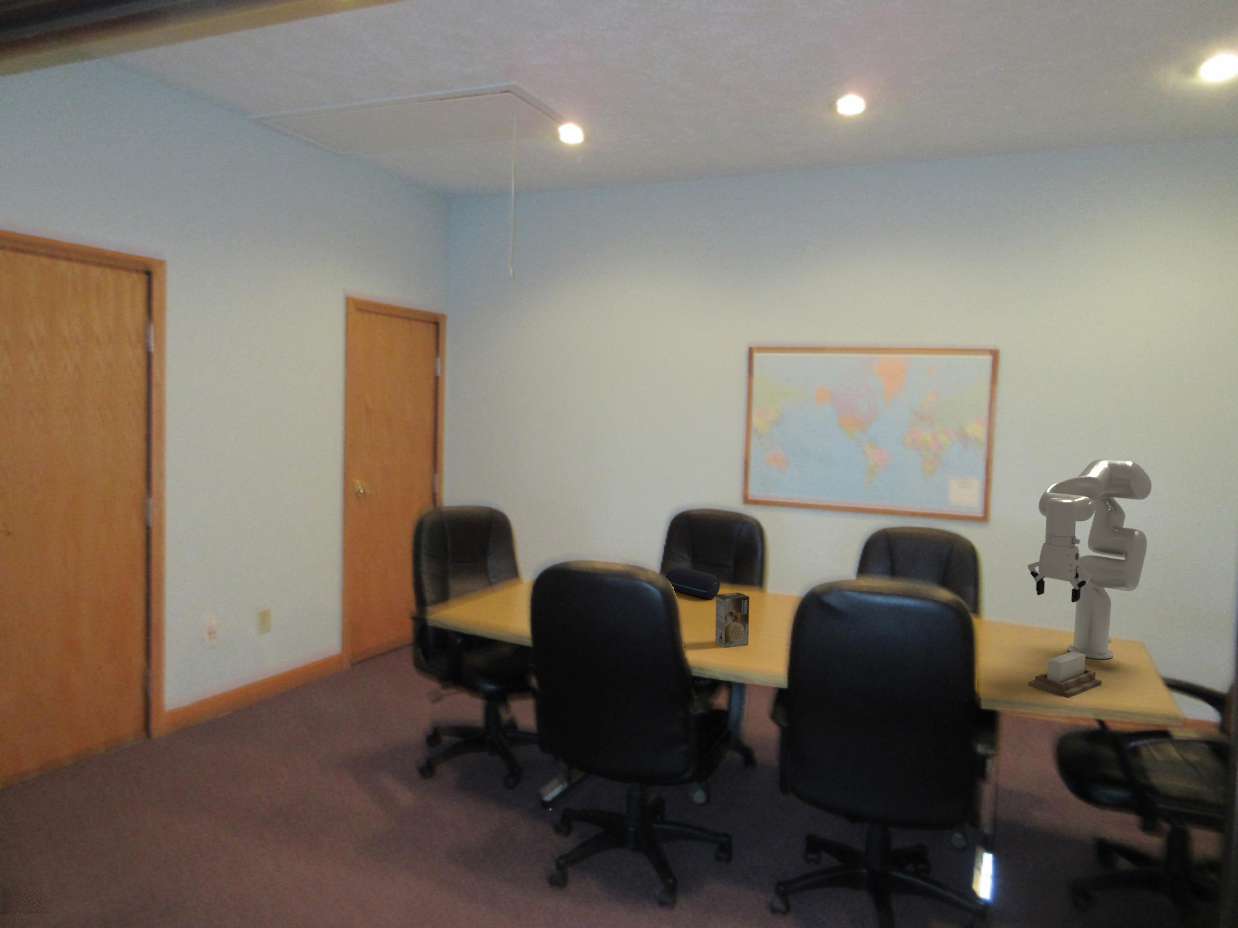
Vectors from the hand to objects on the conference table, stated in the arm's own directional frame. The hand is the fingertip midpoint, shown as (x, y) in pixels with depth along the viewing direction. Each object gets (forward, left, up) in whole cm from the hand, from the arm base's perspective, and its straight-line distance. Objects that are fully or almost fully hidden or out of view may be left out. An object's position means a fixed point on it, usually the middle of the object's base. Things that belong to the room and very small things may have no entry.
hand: (1057, 597), depth 229 cm
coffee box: (+62, -72, -23) cm, 97 cm away
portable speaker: (+30, -129, -23) cm, 134 cm away
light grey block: (+6, +7, -22) cm, 24 cm away
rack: (+6, +6, -23) cm, 25 cm away
